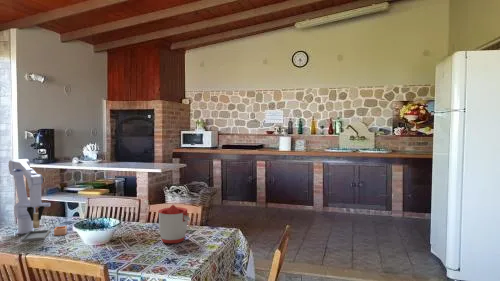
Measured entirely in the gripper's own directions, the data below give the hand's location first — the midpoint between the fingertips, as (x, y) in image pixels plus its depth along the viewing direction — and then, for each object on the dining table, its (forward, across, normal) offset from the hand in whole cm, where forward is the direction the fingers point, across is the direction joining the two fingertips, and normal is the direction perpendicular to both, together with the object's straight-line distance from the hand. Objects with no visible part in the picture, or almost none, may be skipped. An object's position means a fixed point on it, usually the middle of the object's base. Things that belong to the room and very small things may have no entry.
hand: (36, 220), depth 204 cm
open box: (+10, +12, +2) cm, 16 cm away
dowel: (+4, 0, 0) cm, 4 cm away
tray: (+10, 0, 0) cm, 10 cm away
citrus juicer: (+10, +74, -30) cm, 81 cm away
